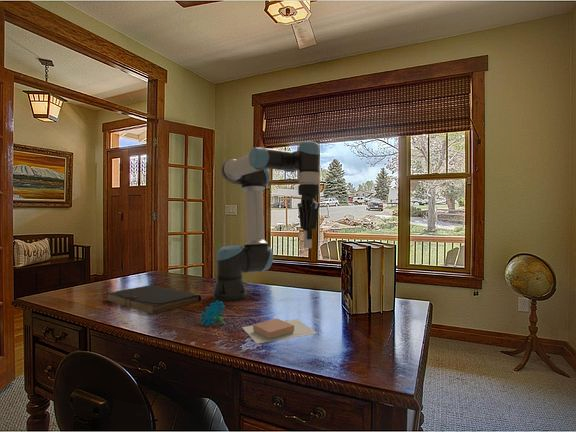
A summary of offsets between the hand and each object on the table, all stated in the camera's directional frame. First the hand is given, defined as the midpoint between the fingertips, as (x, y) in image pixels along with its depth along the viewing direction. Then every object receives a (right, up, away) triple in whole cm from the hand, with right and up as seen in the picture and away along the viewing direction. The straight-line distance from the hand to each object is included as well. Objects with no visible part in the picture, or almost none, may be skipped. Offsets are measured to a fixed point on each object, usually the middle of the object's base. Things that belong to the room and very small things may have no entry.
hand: (307, 248), depth 121 cm
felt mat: (-10, -26, -13) cm, 31 cm away
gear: (-34, -26, -6) cm, 43 cm away
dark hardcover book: (-66, -26, +22) cm, 74 cm away
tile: (-8, -25, -11) cm, 29 cm away
